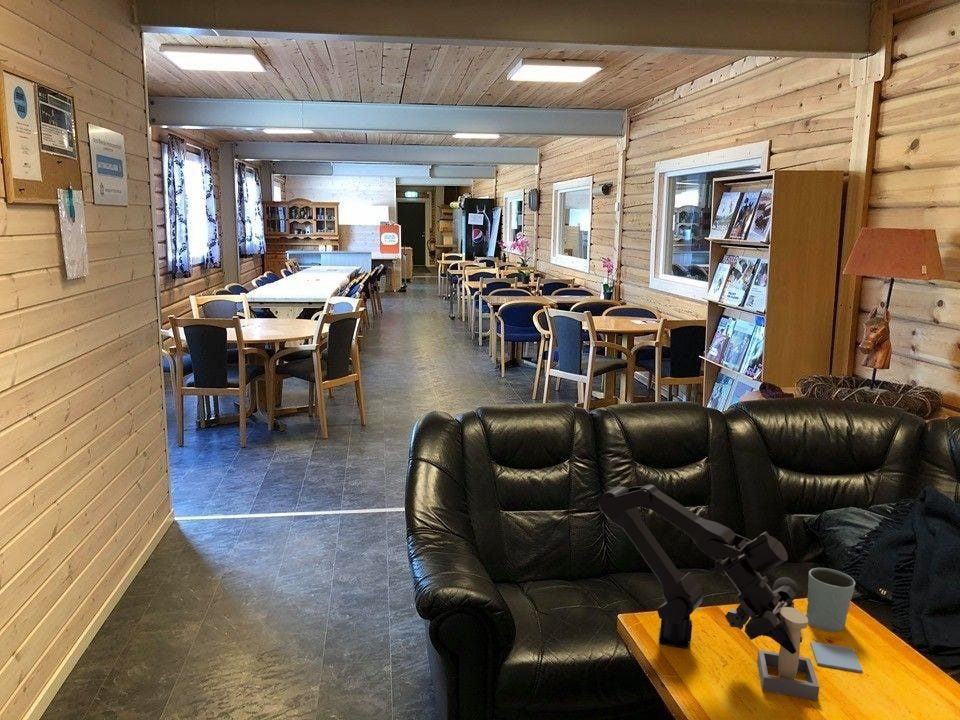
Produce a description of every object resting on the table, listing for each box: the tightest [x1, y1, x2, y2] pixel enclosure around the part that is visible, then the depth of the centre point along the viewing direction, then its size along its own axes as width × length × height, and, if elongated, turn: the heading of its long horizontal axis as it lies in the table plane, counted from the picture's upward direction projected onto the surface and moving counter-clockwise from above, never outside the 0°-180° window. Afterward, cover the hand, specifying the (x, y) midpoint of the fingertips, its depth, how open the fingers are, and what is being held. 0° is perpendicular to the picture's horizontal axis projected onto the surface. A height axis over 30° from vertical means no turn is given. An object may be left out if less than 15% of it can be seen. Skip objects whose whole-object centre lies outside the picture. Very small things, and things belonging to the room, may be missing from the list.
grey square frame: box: [756, 649, 820, 701], centre depth 152 cm, size 10×10×3 cm
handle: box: [777, 607, 809, 680], centre depth 151 cm, size 5×6×15 cm
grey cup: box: [806, 567, 856, 633], centre depth 176 cm, size 10×10×12 cm
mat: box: [809, 641, 864, 674], centre depth 162 cm, size 9×9×1 cm
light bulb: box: [772, 576, 799, 604], centre depth 178 cm, size 6×6×10 cm
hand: (797, 647), depth 150 cm, fingers closed on handle, 5 cm apart
